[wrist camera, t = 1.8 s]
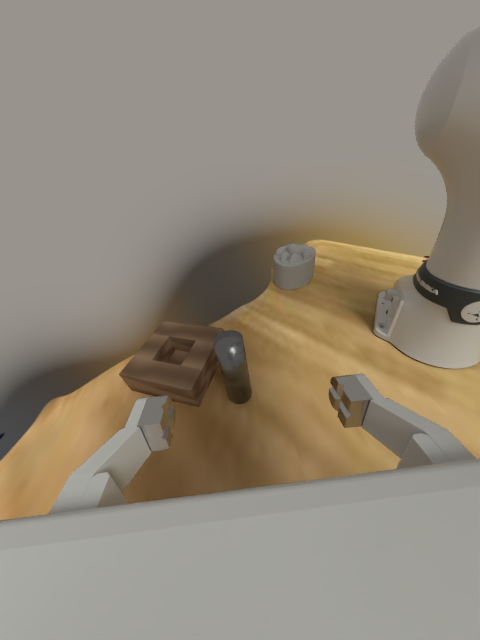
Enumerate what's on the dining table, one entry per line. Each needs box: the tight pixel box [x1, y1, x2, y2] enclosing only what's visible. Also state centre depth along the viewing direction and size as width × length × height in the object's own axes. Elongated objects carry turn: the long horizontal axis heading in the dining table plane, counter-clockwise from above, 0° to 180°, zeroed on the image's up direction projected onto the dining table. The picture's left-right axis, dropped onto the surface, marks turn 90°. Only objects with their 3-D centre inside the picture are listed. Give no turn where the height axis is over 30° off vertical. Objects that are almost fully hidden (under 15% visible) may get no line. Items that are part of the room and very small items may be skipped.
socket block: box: [119, 321, 224, 407], centre depth 42 cm, size 14×14×5 cm
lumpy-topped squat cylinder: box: [274, 244, 316, 290], centre depth 61 cm, size 10×13×9 cm
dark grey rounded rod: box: [213, 330, 252, 404], centre depth 33 cm, size 4×4×13 cm
